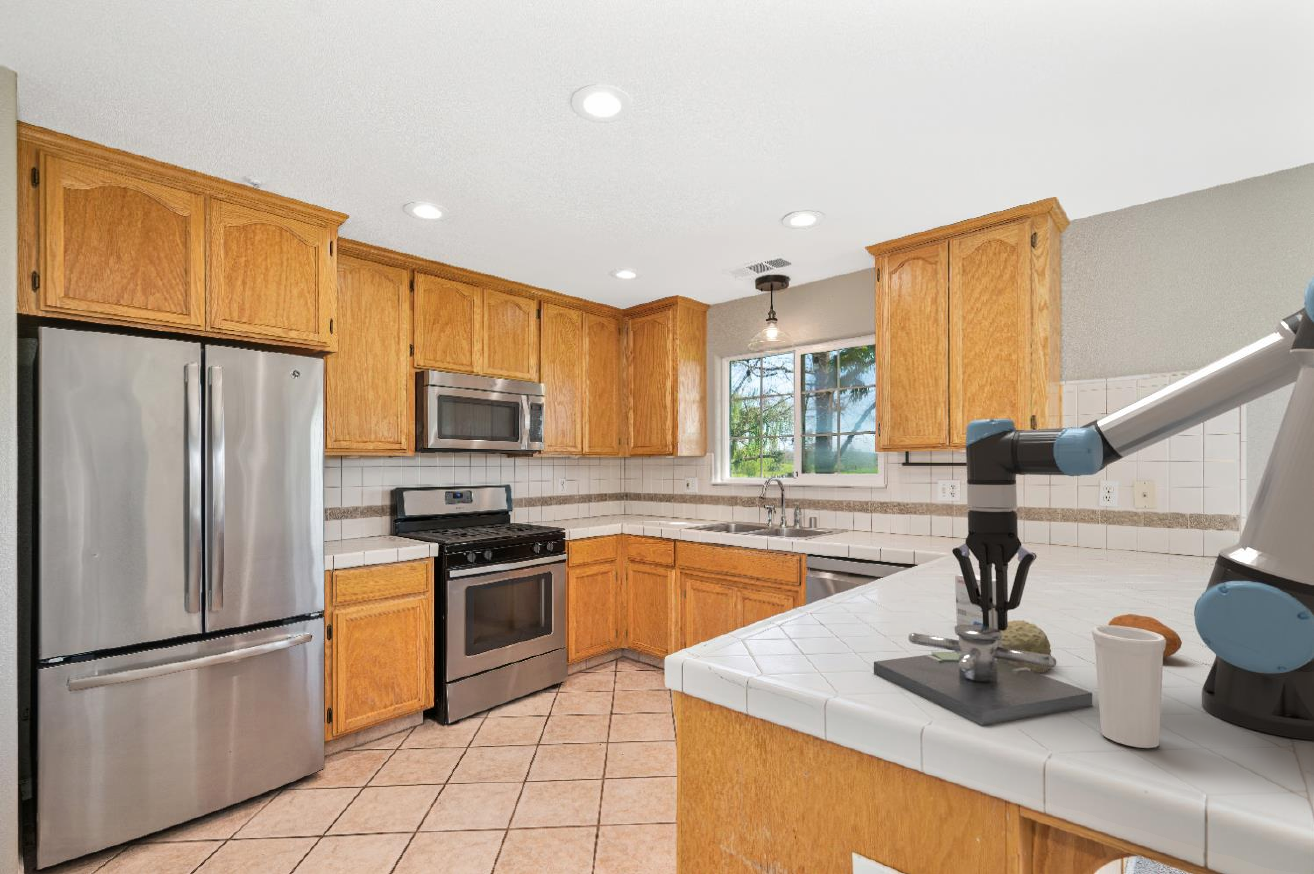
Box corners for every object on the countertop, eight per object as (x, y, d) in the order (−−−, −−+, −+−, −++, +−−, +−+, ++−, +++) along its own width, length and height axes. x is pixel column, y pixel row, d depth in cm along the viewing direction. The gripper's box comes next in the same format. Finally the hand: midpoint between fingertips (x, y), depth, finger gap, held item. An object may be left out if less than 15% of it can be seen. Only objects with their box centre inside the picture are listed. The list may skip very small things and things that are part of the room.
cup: (1078, 728, 89) (1077, 625, 89) (1133, 726, 90) (1131, 624, 90) (1125, 755, 81) (1123, 641, 81) (1184, 753, 81) (1182, 641, 82)
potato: (1133, 646, 129) (1133, 608, 129) (1194, 663, 118) (1193, 622, 118) (1098, 649, 126) (1098, 611, 126) (1157, 667, 115) (1156, 626, 115)
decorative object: (1044, 695, 111) (1076, 648, 111) (992, 660, 113) (1023, 613, 113) (1021, 682, 120) (1050, 638, 120) (973, 649, 122) (1002, 606, 122)
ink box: (1003, 635, 136) (1003, 580, 136) (984, 637, 134) (984, 581, 134) (972, 625, 144) (972, 572, 144) (954, 626, 142) (954, 574, 143)
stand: (1092, 705, 97) (1092, 690, 97) (982, 725, 89) (982, 709, 90) (968, 659, 119) (968, 647, 119) (872, 672, 111) (872, 659, 111)
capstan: (1063, 670, 106) (1062, 626, 107) (1049, 712, 88) (1049, 659, 89) (926, 646, 119) (925, 607, 120) (889, 679, 101) (889, 633, 102)
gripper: (1039, 509, 108) (1043, 651, 107) (959, 506, 116) (963, 637, 115) (1028, 512, 102) (1032, 661, 101) (945, 508, 111) (949, 646, 110)
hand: (995, 648), depth 108 cm, fingers closed
